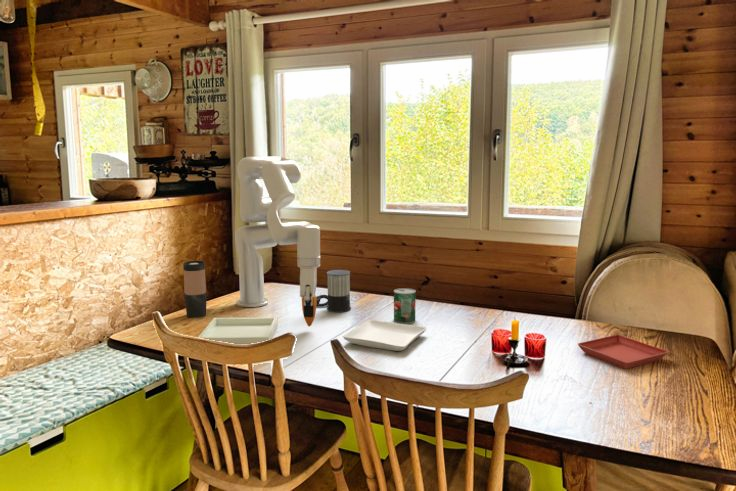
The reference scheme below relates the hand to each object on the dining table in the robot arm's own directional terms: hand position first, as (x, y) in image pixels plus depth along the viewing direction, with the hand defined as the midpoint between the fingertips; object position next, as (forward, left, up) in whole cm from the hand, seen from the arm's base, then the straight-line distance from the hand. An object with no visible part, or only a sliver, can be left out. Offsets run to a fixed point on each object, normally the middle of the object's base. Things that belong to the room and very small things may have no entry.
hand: (309, 313), depth 193 cm
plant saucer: (+27, +94, -7) cm, 98 cm away
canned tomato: (-12, +33, -6) cm, 36 cm away
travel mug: (-21, -44, -6) cm, 49 cm away
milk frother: (-30, +6, -6) cm, 31 cm away
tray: (+4, -23, -6) cm, 24 cm away
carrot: (0, 0, -5) cm, 5 cm away
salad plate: (+10, +25, -7) cm, 28 cm away
